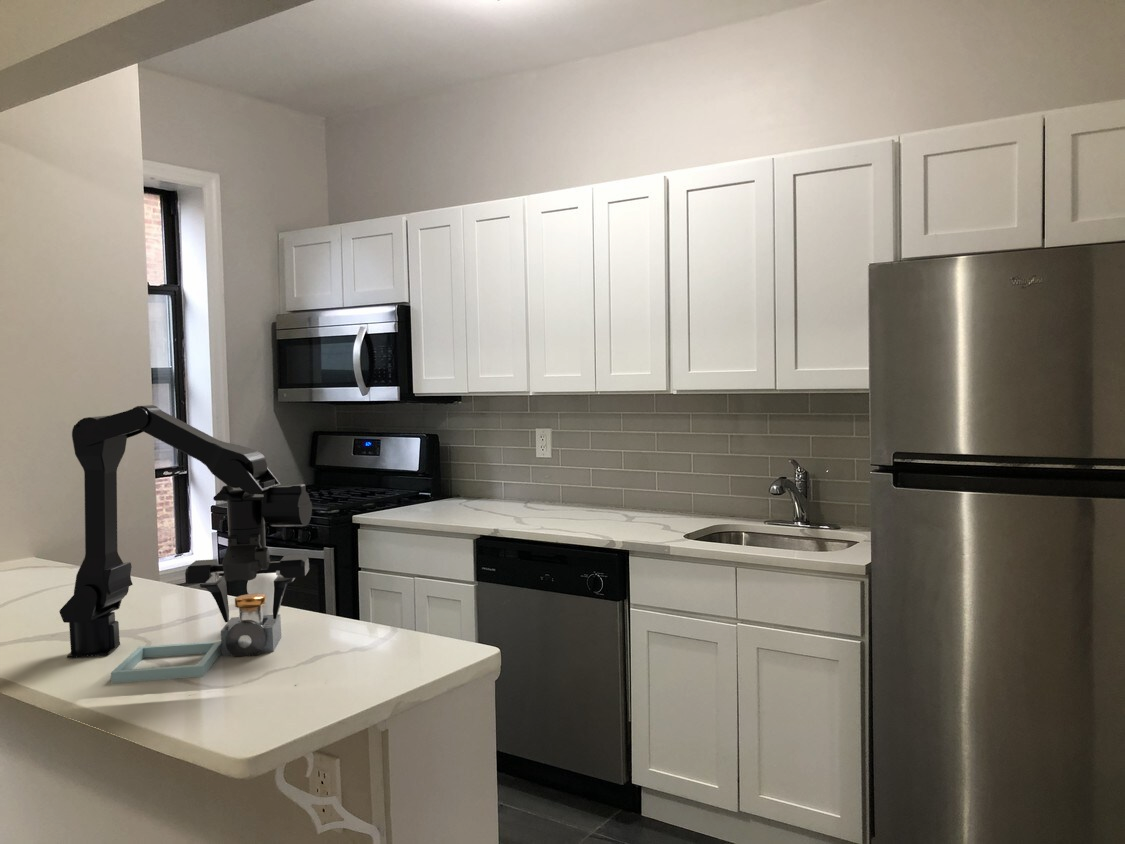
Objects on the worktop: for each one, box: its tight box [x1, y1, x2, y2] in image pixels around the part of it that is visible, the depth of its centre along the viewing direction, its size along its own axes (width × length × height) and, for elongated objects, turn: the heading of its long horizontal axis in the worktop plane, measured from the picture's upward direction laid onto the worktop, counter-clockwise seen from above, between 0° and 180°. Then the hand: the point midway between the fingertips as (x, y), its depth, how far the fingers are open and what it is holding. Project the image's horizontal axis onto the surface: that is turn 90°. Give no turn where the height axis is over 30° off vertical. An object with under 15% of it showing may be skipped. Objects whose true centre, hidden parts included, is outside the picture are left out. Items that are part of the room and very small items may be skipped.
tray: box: [110, 640, 222, 684], centre depth 141 cm, size 13×13×2 cm
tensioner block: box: [220, 613, 282, 658], centre depth 149 cm, size 8×10×6 cm
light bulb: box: [246, 573, 277, 615], centre depth 164 cm, size 7×7×11 cm
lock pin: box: [234, 593, 266, 625], centre depth 150 cm, size 5×5×8 cm
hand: (251, 620), depth 150 cm, fingers open, 7 cm apart
